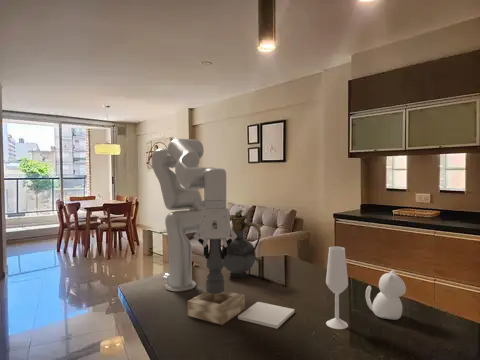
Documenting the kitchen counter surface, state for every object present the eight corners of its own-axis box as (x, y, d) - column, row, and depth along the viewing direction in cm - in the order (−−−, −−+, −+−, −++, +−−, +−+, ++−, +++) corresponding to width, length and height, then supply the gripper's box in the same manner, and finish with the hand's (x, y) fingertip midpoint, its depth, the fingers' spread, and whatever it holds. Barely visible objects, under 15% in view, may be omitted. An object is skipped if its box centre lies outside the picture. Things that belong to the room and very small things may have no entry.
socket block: (187, 315, 117) (187, 300, 117) (211, 301, 129) (211, 288, 129) (222, 324, 110) (222, 309, 109) (244, 309, 122) (244, 294, 121)
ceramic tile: (237, 319, 114) (237, 316, 114) (257, 304, 126) (257, 301, 126) (277, 328, 107) (277, 325, 106) (294, 312, 119) (294, 309, 119)
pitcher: (229, 270, 168) (228, 208, 167) (265, 275, 160) (265, 210, 159) (217, 276, 159) (216, 210, 158) (255, 282, 150) (255, 212, 149)
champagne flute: (323, 319, 113) (323, 245, 112) (344, 319, 112) (344, 245, 112) (328, 329, 106) (328, 250, 105) (350, 329, 106) (350, 250, 105)
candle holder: (221, 294, 116) (221, 219, 115) (204, 292, 117) (203, 219, 116) (226, 287, 122) (226, 216, 121) (209, 286, 123) (209, 216, 122)
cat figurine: (403, 325, 108) (404, 277, 107) (361, 316, 115) (362, 271, 114) (407, 315, 116) (408, 270, 115) (367, 306, 122) (368, 264, 122)
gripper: (188, 206, 114) (188, 260, 115) (240, 206, 114) (240, 261, 115) (191, 203, 122) (192, 254, 123) (240, 203, 122) (240, 255, 123)
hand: (215, 257), depth 119 cm, fingers closed on candle holder, 5 cm apart
